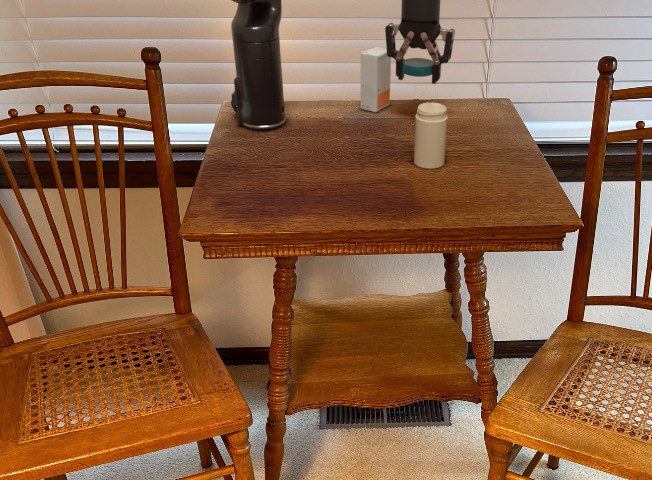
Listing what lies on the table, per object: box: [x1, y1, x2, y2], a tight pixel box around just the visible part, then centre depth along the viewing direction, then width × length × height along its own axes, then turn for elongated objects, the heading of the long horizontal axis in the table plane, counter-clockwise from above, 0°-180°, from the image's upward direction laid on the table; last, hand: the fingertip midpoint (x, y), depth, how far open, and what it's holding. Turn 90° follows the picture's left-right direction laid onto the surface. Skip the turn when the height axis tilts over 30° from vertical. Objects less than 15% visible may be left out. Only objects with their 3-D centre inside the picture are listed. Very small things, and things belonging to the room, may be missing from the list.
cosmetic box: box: [360, 46, 392, 113], centre depth 163 cm, size 6×4×12 cm
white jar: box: [413, 102, 449, 170], centre depth 142 cm, size 6×6×11 cm
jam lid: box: [402, 57, 434, 78], centre depth 153 cm, size 7×7×2 cm
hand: (417, 80), depth 155 cm, fingers closed on jam lid, 6 cm apart
